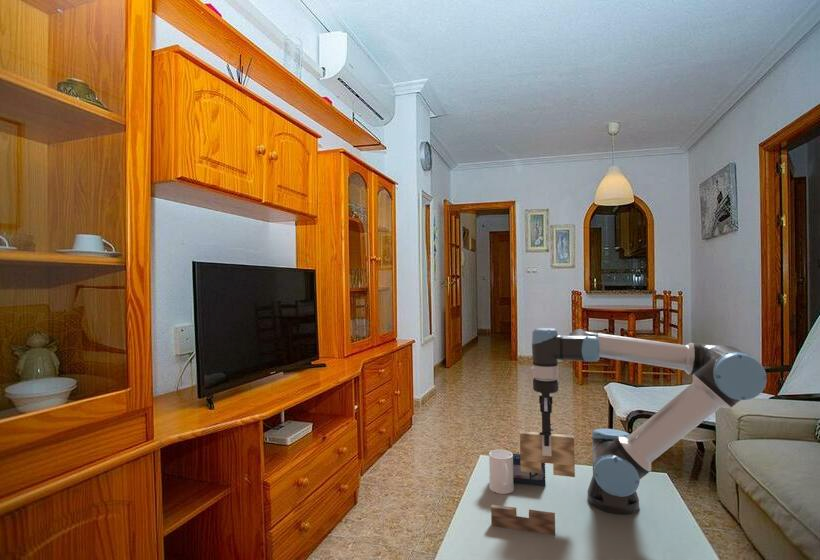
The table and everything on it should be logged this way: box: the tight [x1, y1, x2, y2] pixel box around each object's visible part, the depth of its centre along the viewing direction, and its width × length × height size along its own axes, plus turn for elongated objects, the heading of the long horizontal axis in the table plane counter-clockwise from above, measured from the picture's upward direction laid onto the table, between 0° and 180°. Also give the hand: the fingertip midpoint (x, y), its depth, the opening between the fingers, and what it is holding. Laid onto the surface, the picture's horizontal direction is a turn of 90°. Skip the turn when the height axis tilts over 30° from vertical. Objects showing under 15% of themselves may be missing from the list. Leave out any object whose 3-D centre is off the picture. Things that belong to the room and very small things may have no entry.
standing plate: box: [490, 504, 556, 536], centre depth 129 cm, size 18×2×6 cm, turn 73°
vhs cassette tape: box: [511, 452, 547, 487], centre depth 158 cm, size 18×3×10 cm, turn 72°
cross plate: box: [519, 430, 576, 478], centre depth 137 cm, size 16×2×12 cm, turn 72°
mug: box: [488, 449, 515, 495], centre depth 152 cm, size 12×8×12 cm
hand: (546, 453), depth 137 cm, fingers closed on cross plate, 2 cm apart
